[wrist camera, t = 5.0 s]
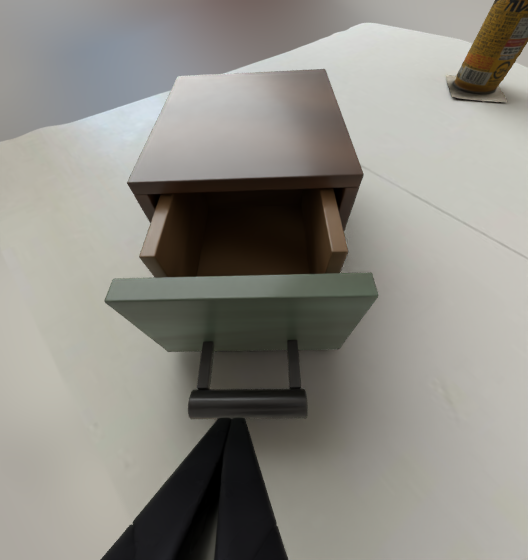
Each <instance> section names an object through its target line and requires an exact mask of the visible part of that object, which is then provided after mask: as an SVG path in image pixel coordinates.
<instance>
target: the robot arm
mask: <svg viewBox="0 0 528 560" xmlns="http://www.w3.org/2000/svg"><path fill="white" fill-rule="evenodd" d="M101 560H288V557H287V554H286V551H285V548H284V545H283V542H282V539H281V536H280V532H279V529H278V526H277V523H276V520H275V516H274V513H273V510H272V506H271V503H270V500H269V496H268V493H267V490H266V486H265V483H264V480H263V477H262V473H261V470H260V467H259V463H258V460H257V457H256V453H255V450H254V447H253V444H252V440H251V437H250V434H249V430H248V427H247V424H246V420H245V418H243V417H234V418H232V419H231V418H219V419H218V420H217V421H216V422H215V423H214V424H213V426H212V427H211V428H210V429H209V430H208V432H207V433H206V434H205V435H204V436H203V438H202V439H201V440H200V441H199V442H198V444H197V445H196V446H195V447H194V448H193V450H192V451H191V452H190V453H189V454H188V456H187V457H186V458H185V459H184V461H183V462H182V463H181V464H180V465H179V467H178V468H177V469H176V470H175V471H174V473H173V474H172V475H171V476H170V477H169V479H168V480H167V481H166V482H165V483H164V485H163V486H162V487H161V488H160V489H159V491H158V492H157V493H156V494H155V496H154V497H153V498H152V499H151V500H150V502H149V503H148V504H147V505H146V506H145V508H144V509H143V510H142V511H141V512H140V514H139V515H138V516H137V517H136V518H135V520H134V521H133V525H129V527H128V528H127V529H126V530H125V532H124V533H123V534H122V535H121V536H120V538H119V539H118V540H117V541H116V542H115V543H114V545H113V546H112V547H111V548H110V549H109V551H108V552H107V553H106V554H105V555H104V556H103V557H102V559H101Z"/></svg>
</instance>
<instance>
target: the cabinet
mask: <svg viewBox="0 0 528 560" xmlns="http://www.w3.org/2000/svg"><path fill="white" fill-rule="evenodd" d="M362 178H363V171H362V169H361V166H360V163H359V160H358V158H357V155H356V152H355V150H354V147H353V144H352V141H351V139H350V136H349V133H348V130H347V128H346V125H345V122H344V119H343V117H342V114H341V111H340V109H339V106H338V103H337V100H336V98H335V95H334V92H333V89H332V87H331V84H330V81H329V79H328V76H327V73H326V70H325V69H316V70H296V71H275V72H255V73H234V74H215V75H193V76H178V77H177V79H176V81H175V83H174V86H173V87H172V90H171V92H170V94H169V96H168V98H167V100H166V102H165V104H164V106H163V108H162V110H161V113H160V115H159V117H158V119H157V121H156V123H155V125H154V127H153V129H152V131H151V134H150V136H149V138H148V140H147V142H146V144H145V146H144V148H143V150H142V152H141V154H140V157H139V159H138V161H137V163H136V165H135V167H134V169H133V171H132V173H131V175H130V177H129V180H128V182H127V184H128V186H129V187H130V189H131V191H132V192H133V194H134V196H135V198H136V199H137V201H138V203H139V204H140V206H141V208H142V210H143V211H144V213H145V215H146V216H147V218H148V220H149V221H150V223H151V221H152V218H153V215H154V212H155V209H156V206H157V204H158V201H159V198H160V195H161V194H166V193H196V192H225V191H255V190H284V189H313V188H333V190H334V194H335V199H336V203H337V207H338V211H339V215H340V219H341V223H342V227H343V232H344V230H345V227H346V224H347V221H348V219H349V216H350V213H351V210H352V207H353V204H354V201H355V198H356V195H357V192H358V189H359V186H360V184H361V181H362Z"/></svg>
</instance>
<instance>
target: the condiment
mask: <svg viewBox="0 0 528 560" xmlns="http://www.w3.org/2000/svg"><path fill="white" fill-rule="evenodd" d="M527 42H528V0H495V1H494V4H493V6H492V7H491V9H490V11H489V13H488V15H487V17H486V19H485V21H484V23H483V25H482V27H481V29H480V31H479V33H478V35H477V37H476V39H475V40H474V43H473V45H472V46H471V48H470V50H469V52H468V54H467V56H466V58H465V60H464V62H463V64H462V66H461V68H460V70H459V72H458V74H457V76H452V75H446V79H447V84H448V87H449V89H450V93H451V96H452V97H457V98H461V99H470V100H480V101H482V102H484V101H493V102H507V99H506V98H505V95H504V94H503V92H502V91H501V90H500V88H499V86H498V85H499V84H500V83H501V81H502V80H503V79H504V77H505V76H506V75H507V73H508V71H509V70H510V69H511V67H512V65H513V64H514V63H515V61H516V59H517V57H518V56H519V55H520V54H521V52H522V50H523V48H524V47H525V45H526V44H527Z"/></svg>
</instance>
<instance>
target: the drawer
mask: <svg viewBox="0 0 528 560" xmlns="http://www.w3.org/2000/svg"><path fill="white" fill-rule="evenodd" d="M347 254H348V248H347V244H346V240H345V236H344V232H343V227H342V223H341V219H340V215H339V211H338V207H337V203H336V199H335V194H334V190H333V188H313V189H284V190H255V191H225V192H196V193H166V194H161V195H160V198H159V201H158V204H157V206H156V209H155V212H154V215H153V218H152V221H151V224H150V227H149V230H148V233H147V235H146V238H145V241H144V244H143V247H142V250H141V253H140V256H139V257H140V259H141V260H142V261H143V263H144V264H145V265H146V267H147V268H148V269H149V271H150V272H151V273H152V275H153V276H154V277H155V278H120V279H113V280H112V283H111V286H110V288H109V291H108V293H107V296H106V298H105V303H106V304H108V305H109V306H110V307H112V308H113V309H114V310H115V311H117V312H118V313H119V314H121V315H122V316H123V317H124V318H126V319H127V320H128V321H130V322H131V323H132V324H133V325H135V326H136V327H137V328H138V329H140V330H141V331H142V332H144V333H145V334H146V335H147V336H149V337H150V338H151V339H153V340H154V341H155V342H156V343H158V344H159V345H160V346H162V347H163V348H164V349H165V350H167V351H168V352H187V351H202V353H201V361H200V368H199V375H198V383H197V389H195V390H193V391H192V392H191V395H190V398H189V404H188V414H189V418H190V419H219V418H231V419H232V418H234V417H243V418H245V419H293V418H307V414H308V408H307V396H306V391H305V389H304V388H301V379H300V366H299V354H298V350H329V349H339V348H340V347H341V346H342V344H343V343H344V342H345V340H346V339H347V338H348V336H349V335H350V334H351V332H352V331H353V330H354V328H355V327H356V326H357V324H358V323H359V322H360V320H361V319H362V318H363V316H364V315H365V314H366V312H367V311H368V310H369V308H370V307H371V306H372V304H373V303H374V302H375V300H376V299H377V298H378V292H377V289H376V285H375V282H374V278H373V275H372V273H340V271H341V269H342V266H343V264H344V261H345V259H346V256H347ZM258 350H287V354H288V373H289V389H210V382H211V373H212V364H213V355H214V351H258Z"/></svg>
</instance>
